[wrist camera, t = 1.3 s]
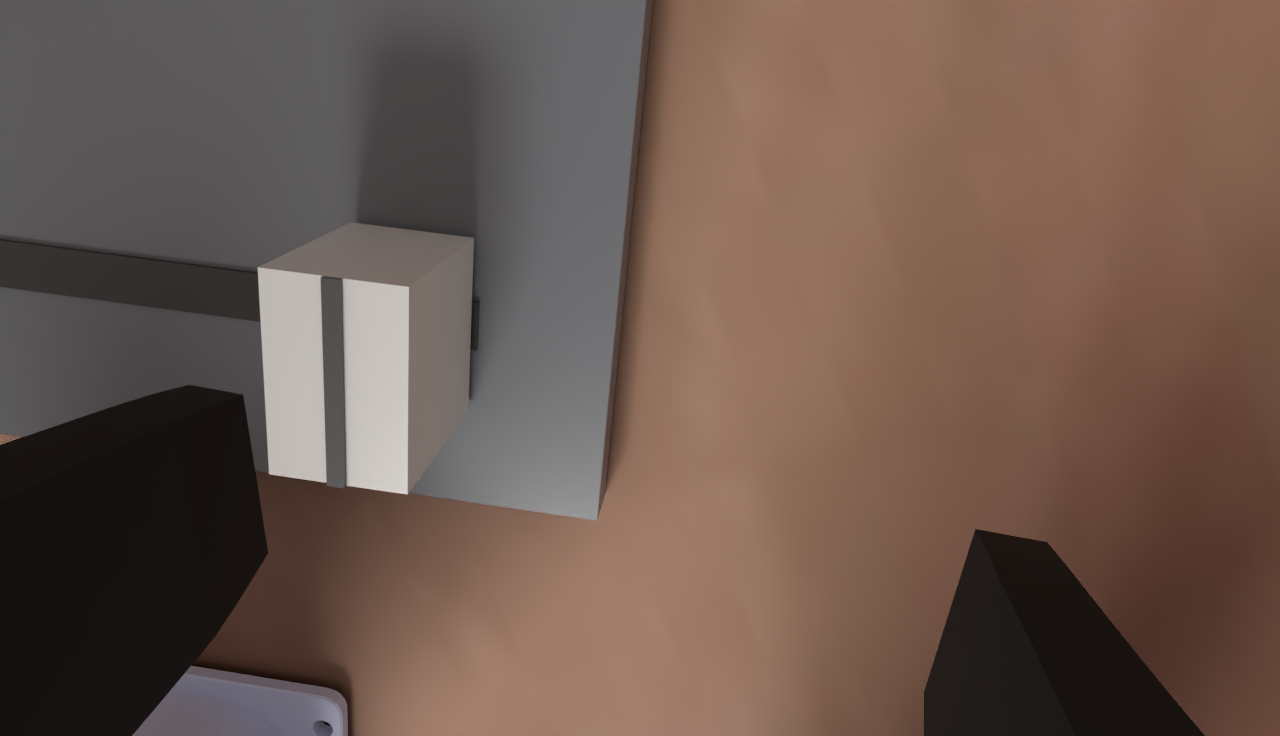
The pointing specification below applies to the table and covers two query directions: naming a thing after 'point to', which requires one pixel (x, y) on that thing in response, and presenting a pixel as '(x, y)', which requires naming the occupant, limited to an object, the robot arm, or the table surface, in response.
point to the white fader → (365, 354)
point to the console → (322, 203)
